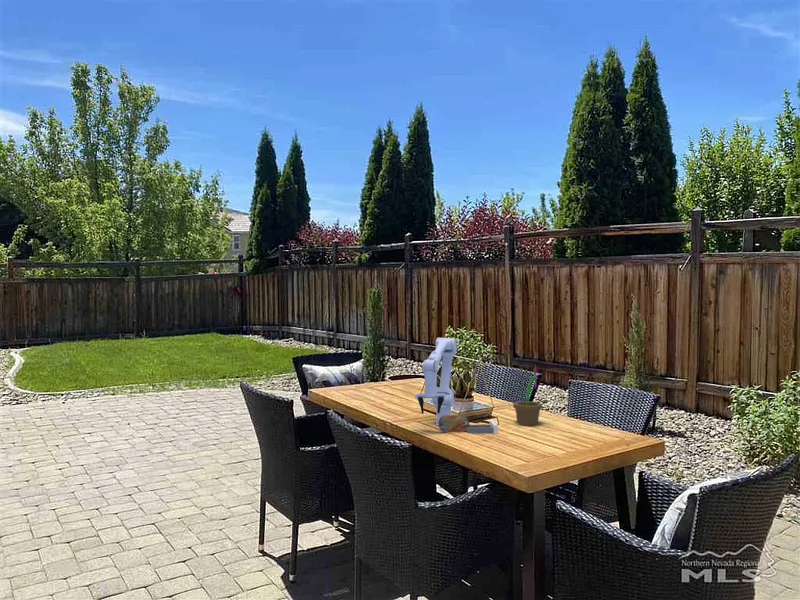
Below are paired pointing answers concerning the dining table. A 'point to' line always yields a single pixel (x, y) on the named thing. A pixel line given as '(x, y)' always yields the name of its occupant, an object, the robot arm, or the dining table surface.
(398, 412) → the dining table surface
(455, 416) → the tin
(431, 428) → the dining table surface
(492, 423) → the bay
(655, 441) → the dining table surface
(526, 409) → the flowerpot
